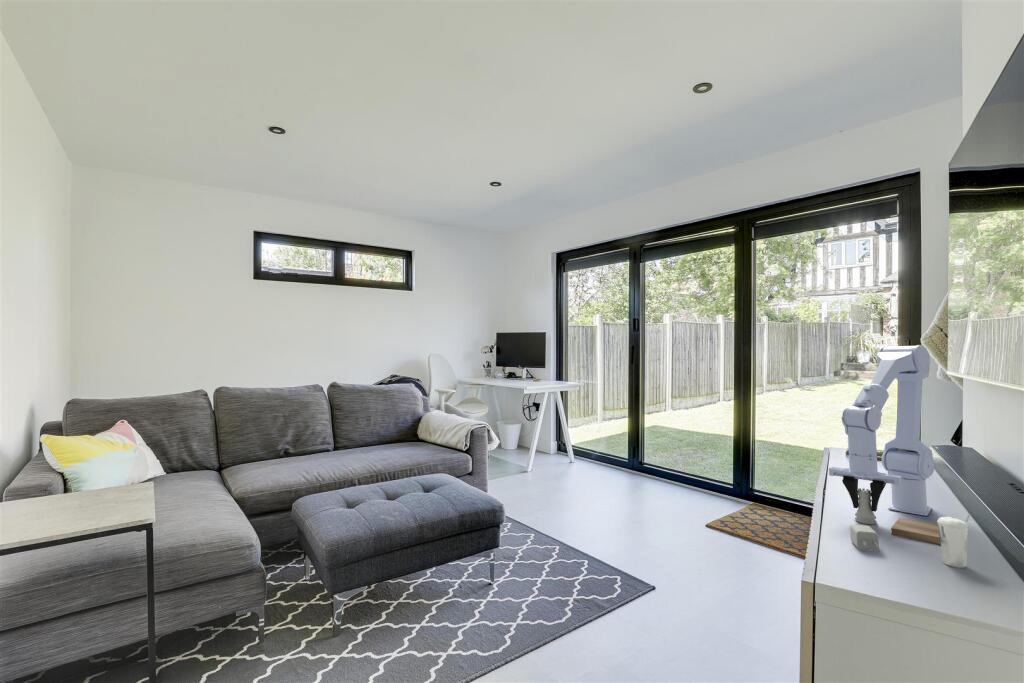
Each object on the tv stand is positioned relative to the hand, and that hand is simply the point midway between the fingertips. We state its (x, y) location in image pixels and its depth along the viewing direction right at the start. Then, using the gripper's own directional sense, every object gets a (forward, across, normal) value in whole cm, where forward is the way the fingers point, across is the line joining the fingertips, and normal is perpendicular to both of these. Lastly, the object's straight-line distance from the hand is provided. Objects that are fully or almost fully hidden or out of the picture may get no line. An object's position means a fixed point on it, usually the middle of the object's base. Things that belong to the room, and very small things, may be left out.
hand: (865, 508), depth 119 cm
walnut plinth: (+3, +11, -1) cm, 11 cm away
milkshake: (+3, +18, -17) cm, 25 cm away
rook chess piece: (+3, 0, 0) cm, 3 cm away
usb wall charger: (+3, +4, -20) cm, 21 cm away
